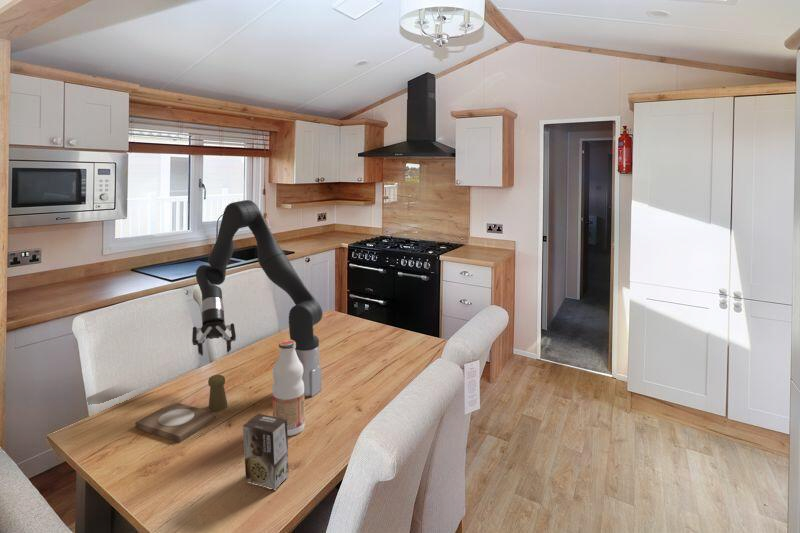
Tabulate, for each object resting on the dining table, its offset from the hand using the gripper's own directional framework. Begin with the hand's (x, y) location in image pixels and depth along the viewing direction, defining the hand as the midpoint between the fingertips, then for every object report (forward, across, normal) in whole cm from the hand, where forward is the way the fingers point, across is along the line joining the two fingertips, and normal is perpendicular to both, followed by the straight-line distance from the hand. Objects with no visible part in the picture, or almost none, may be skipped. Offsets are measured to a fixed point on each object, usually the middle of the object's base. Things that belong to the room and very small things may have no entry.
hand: (215, 353), depth 156 cm
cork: (+18, 0, +3) cm, 19 cm away
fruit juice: (+33, +20, -12) cm, 41 cm away
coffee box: (+49, +11, -28) cm, 57 cm away
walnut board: (+23, -12, -2) cm, 26 cm away
